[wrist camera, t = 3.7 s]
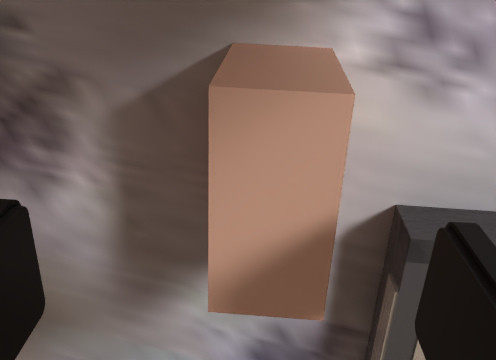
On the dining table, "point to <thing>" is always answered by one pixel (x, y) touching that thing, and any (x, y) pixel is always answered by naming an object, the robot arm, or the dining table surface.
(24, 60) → the dining table surface
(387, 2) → the dining table surface
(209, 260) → the cardboard box
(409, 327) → the rack
